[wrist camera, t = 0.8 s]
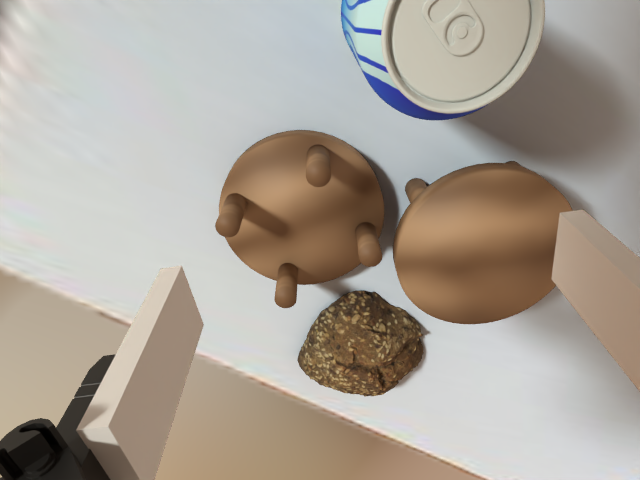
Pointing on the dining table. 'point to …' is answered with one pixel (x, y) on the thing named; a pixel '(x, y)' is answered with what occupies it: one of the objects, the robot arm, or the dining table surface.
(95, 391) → the robot arm
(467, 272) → the footstool
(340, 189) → the upturned footstool
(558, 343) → the dining table surface
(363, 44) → the beer can
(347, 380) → the bread roll
